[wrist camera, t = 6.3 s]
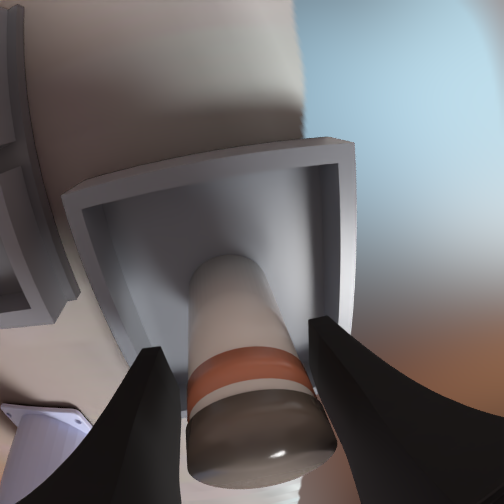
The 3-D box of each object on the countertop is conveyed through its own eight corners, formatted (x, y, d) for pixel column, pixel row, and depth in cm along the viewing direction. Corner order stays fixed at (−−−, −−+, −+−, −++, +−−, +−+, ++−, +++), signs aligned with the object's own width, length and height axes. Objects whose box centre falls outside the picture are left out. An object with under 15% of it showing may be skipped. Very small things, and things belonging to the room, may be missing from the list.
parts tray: (330, 356, 16) (344, 386, 14) (163, 387, 15) (160, 419, 13) (328, 136, 11) (354, 142, 9) (84, 180, 10) (60, 195, 8)
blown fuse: (275, 313, 13) (334, 468, 6) (198, 330, 13) (211, 495, 6) (263, 243, 12) (341, 408, 5) (175, 263, 11) (162, 445, 5)
